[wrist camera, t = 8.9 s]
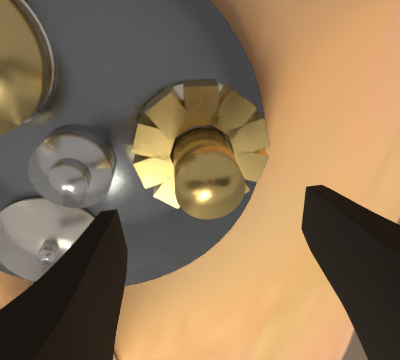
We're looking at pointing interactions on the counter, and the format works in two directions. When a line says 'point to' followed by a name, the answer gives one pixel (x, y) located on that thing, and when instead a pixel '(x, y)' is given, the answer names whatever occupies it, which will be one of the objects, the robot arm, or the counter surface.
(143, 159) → the planet gear
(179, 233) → the carrier
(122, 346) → the counter surface
